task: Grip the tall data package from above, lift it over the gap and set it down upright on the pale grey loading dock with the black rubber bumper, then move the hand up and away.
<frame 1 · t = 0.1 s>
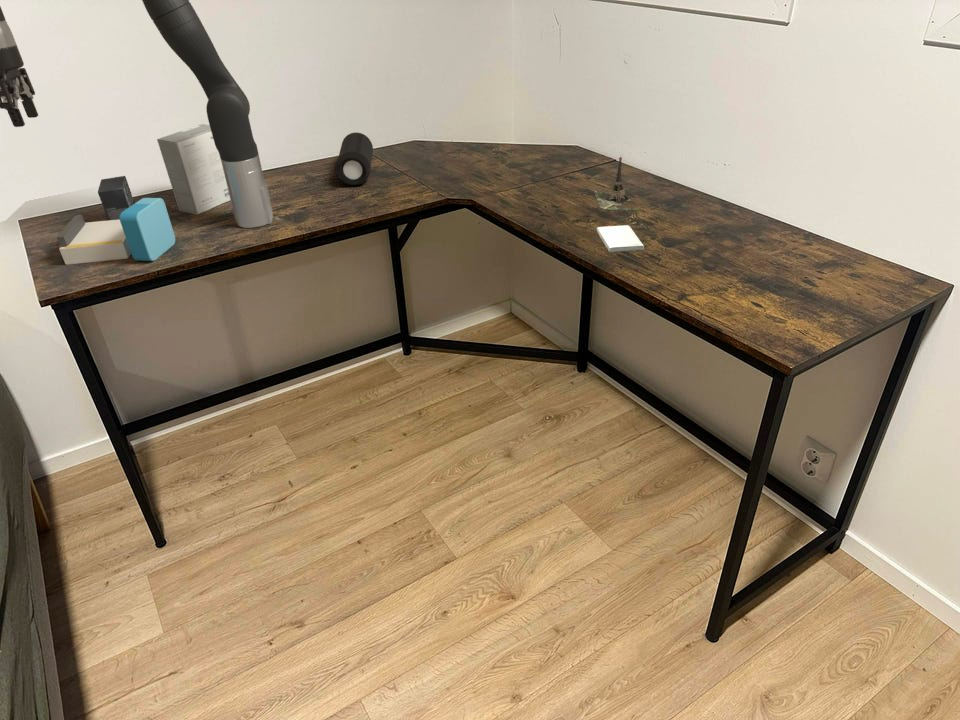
hand: (26, 121, 154), 29 cm above the table, fingers open, 8 cm apart
eiffel tower figurine: (614, 202, 182), on the table
hard drive: (619, 242, 160), on the table
loading dock: (106, 247, 165), on the table
small box: (125, 221, 180), on the table
portable speaker: (357, 174, 207), on the table
data package: (156, 253, 162), on the table
hard drive box: (209, 204, 189), on the table
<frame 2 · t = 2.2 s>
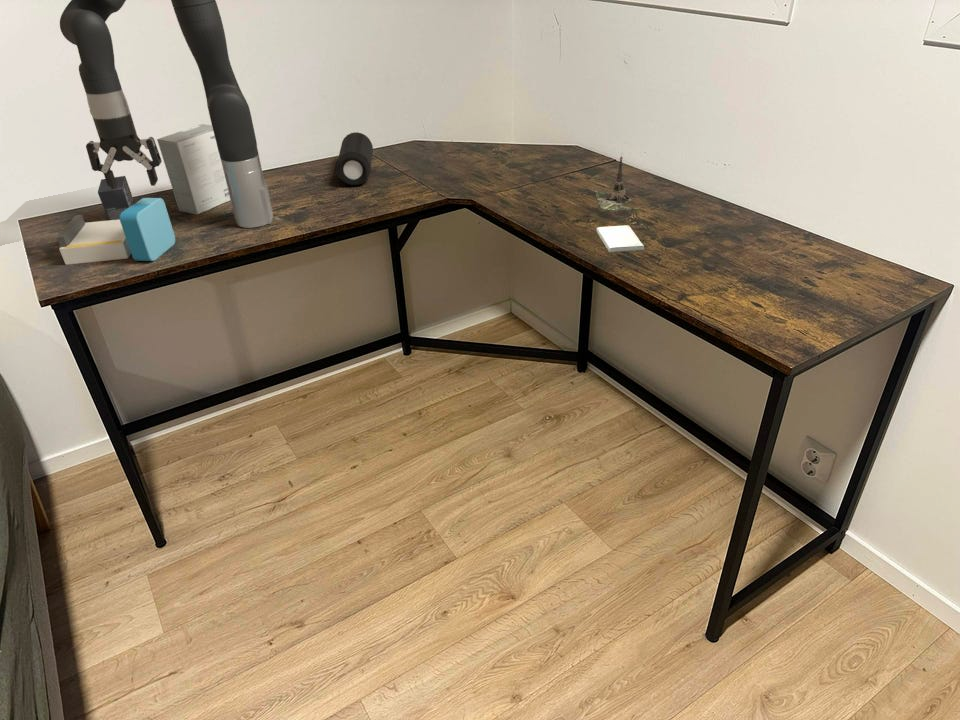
hand: (134, 186, 153), 16 cm above the table, fingers open, 8 cm apart
nothing on the table moved.
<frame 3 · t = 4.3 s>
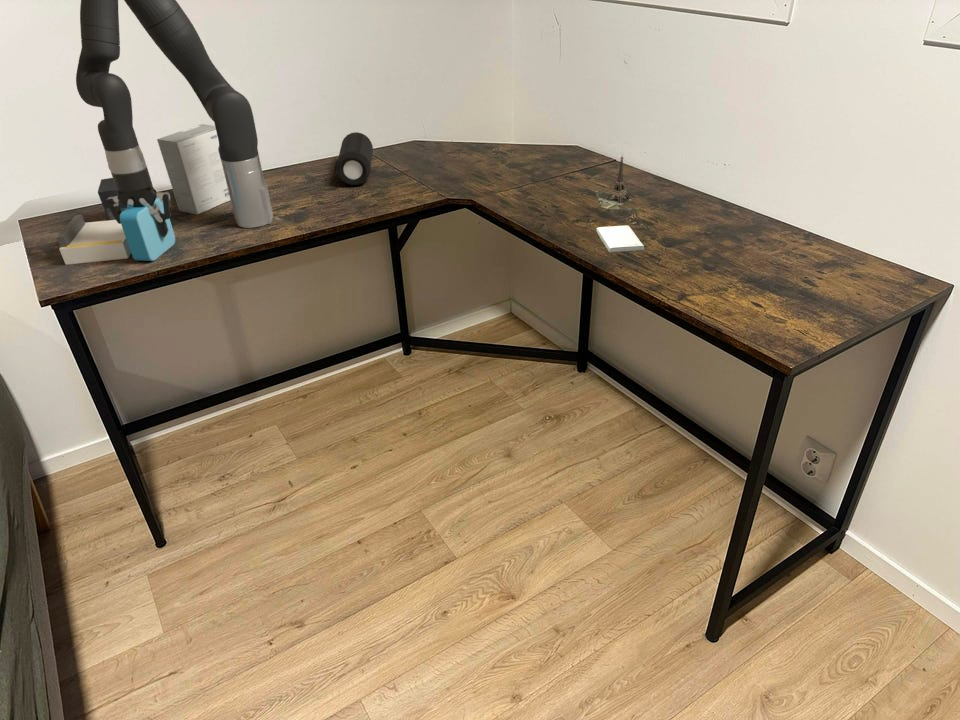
hand: (151, 236, 160), 4 cm above the table, fingers closed on data package, 5 cm apart
data package: (156, 253, 162), on the table, touching gripper
everything else where it was.
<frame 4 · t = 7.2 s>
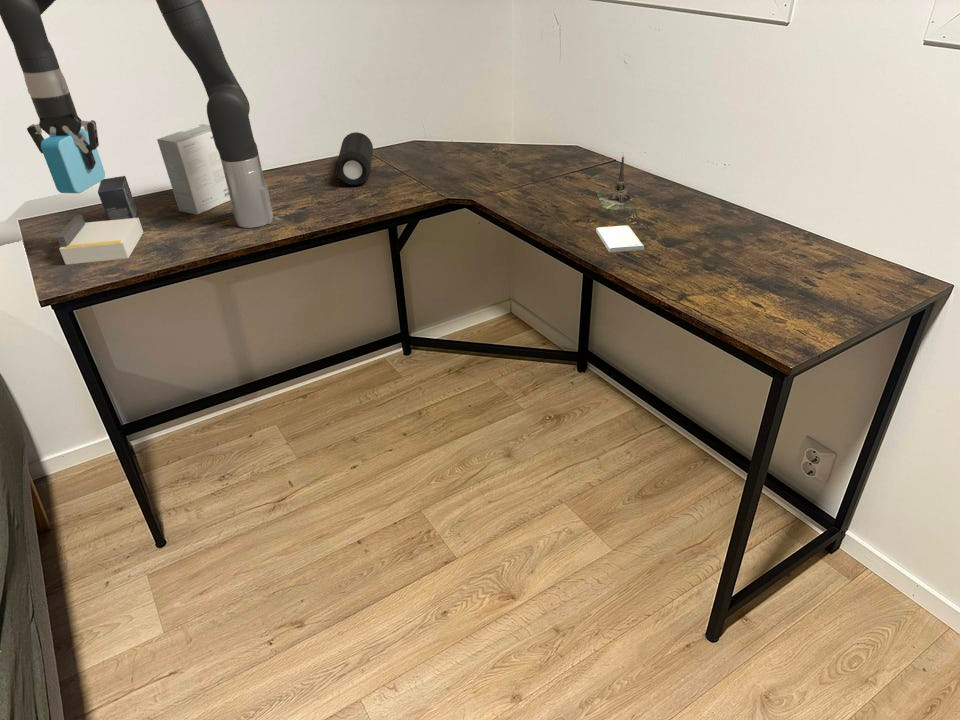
hand: (77, 169, 154), 20 cm above the table, fingers closed on data package, 5 cm apart
data package: (83, 187, 157), point 16 cm above the table, touching gripper
everything else where it was.
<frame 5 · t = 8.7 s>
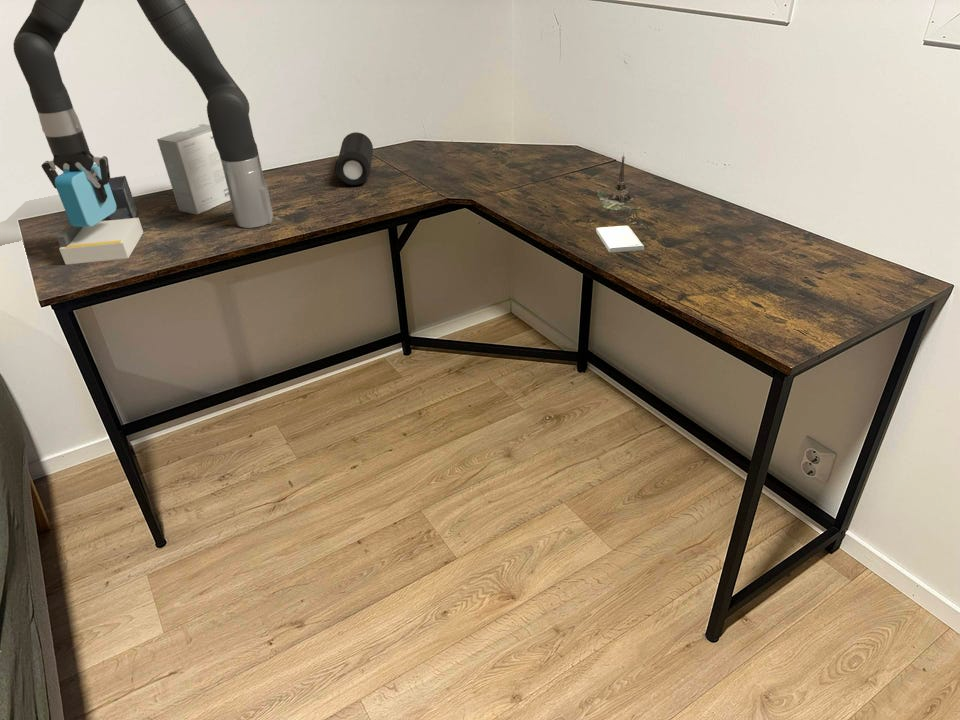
hand: (89, 202, 159), 12 cm above the table, fingers closed on data package, 5 cm apart
data package: (96, 219, 161), point 7 cm above the table, touching gripper
everything else where it was.
when the fingers open (9 cm above the table, at t = 10.1 s): data package stays where it is, resting on loading dock.
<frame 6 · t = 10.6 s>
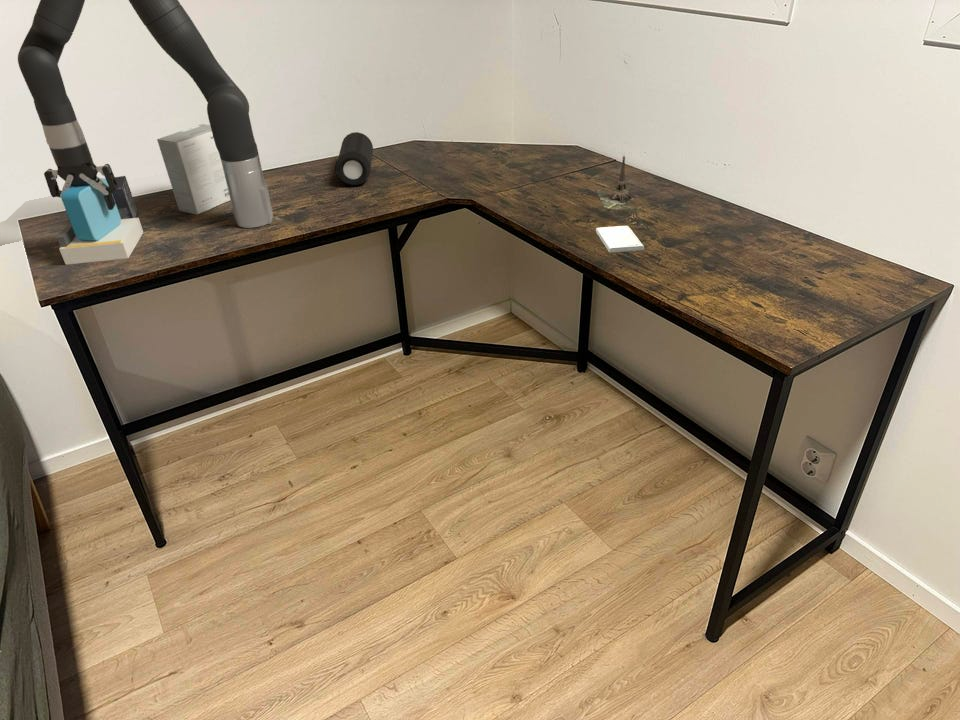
hand: (92, 210, 160), 10 cm above the table, fingers open, 8 cm apart
data package: (101, 233, 163), point 4 cm above the table, touching loading dock
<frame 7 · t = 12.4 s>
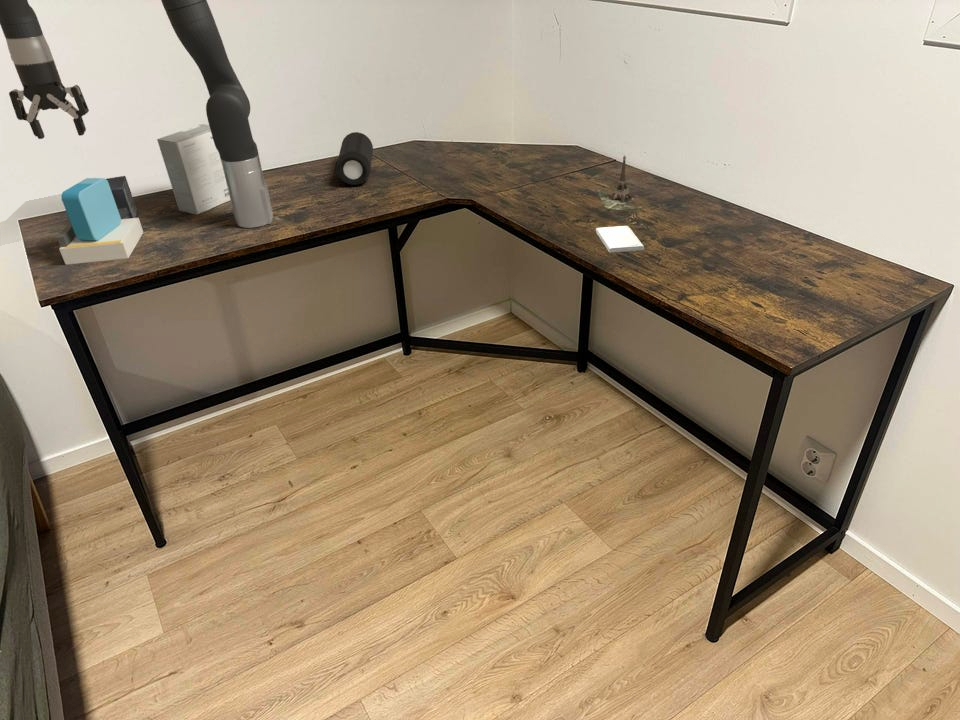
hand: (61, 136, 152), 27 cm above the table, fingers open, 8 cm apart
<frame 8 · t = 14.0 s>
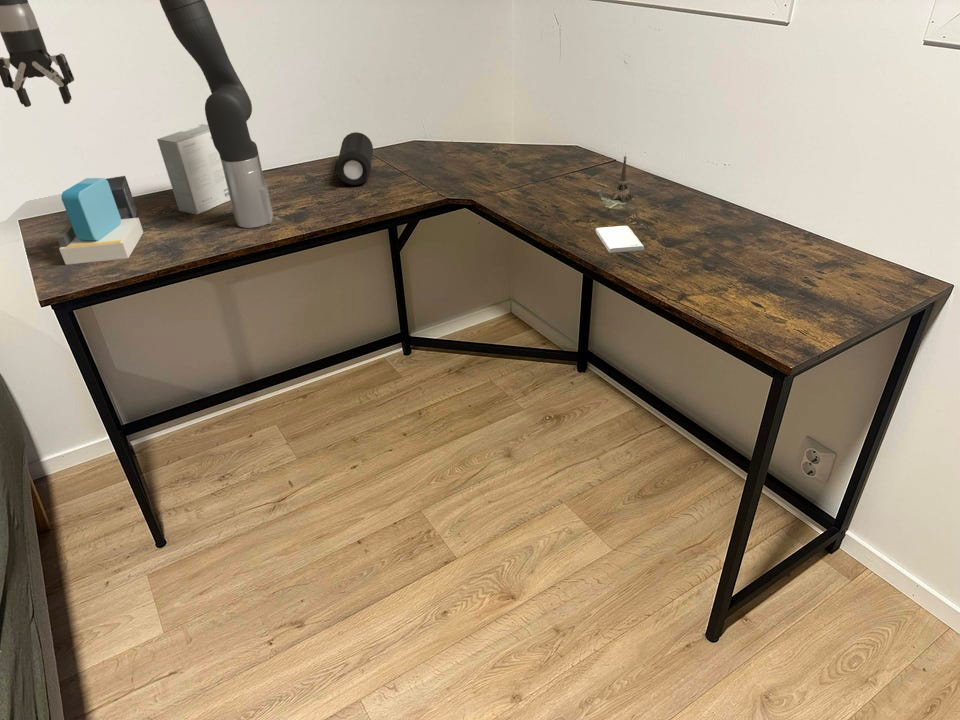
hand: (47, 104, 155), 32 cm above the table, fingers open, 8 cm apart
at the end: data package inside the target area on the loading dock (0.3 cm from its centre), point 3.8 cm above the loading dock's base; data package tilted 0°; the gripper is holding nothing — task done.
